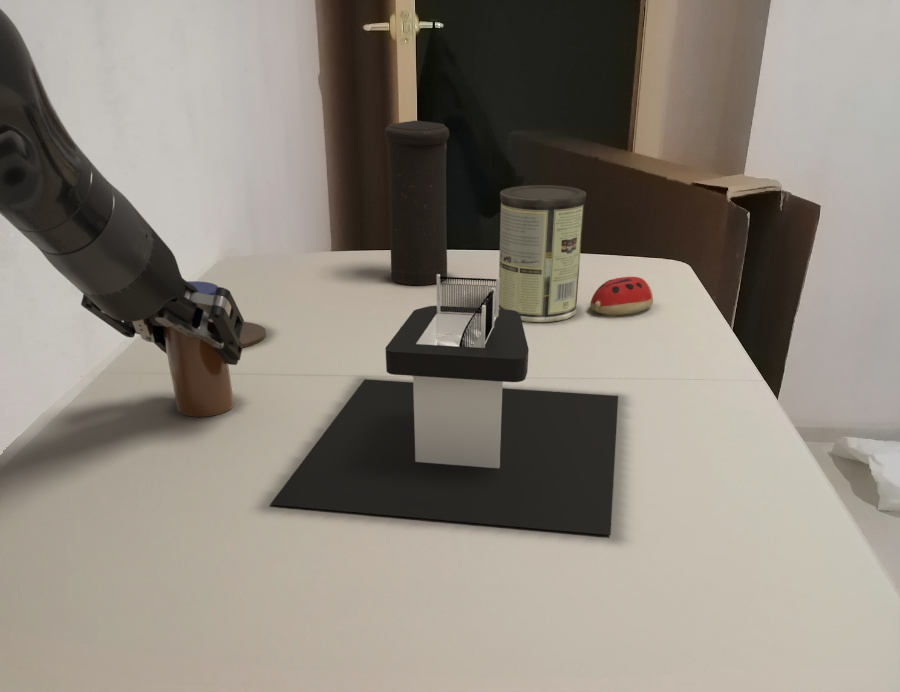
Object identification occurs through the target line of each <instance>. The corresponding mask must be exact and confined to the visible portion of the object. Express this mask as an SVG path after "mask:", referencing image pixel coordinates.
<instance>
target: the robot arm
mask: <svg viewBox="0 0 900 692" xmlns="http://www.w3.org/2000/svg"><path fill="white" fill-rule="evenodd" d="M0 215H1V216H2V217H3V218H5V219H6V220H7V221H8V222H9V223H10V224H11V225H12V226H13V227H14V228H15V229H16V230H17V231H19V232H20V233H21V234H22V235H23V236H24V237H25V238H26V239H27V240H29V241H30V242H31V243H32V244H33V245H34V246H35V247H36V248H37V249H38V250H39V251H40V253H42V255H43V256H44V258H45V259H46V260H47V261H48V262H49V263H50V264H51V266H52V267H54V269H56V270H57V271H58V272H59V273H60V274H61V275H62V276H63V277H64V278H65V279H66V280H68V282H70V283H71V284H72V285H73V286H74V287H75V288H76V289H77V290H79V291H80V292H81V293H82V298H81V301H80V306H81V307H83V308H84V309H86V310H87V311H88V312H90V313H91V314H93V315H94V316H95V317H97V318H98V319H100V320H101V321H102V322H104V323H105V324H107V325H108V326H109V327H111V328H112V329H114V330H116V331H117V332H118V333H119V334H121V335H122V336H124V337H127V338H135V334H137V335H140V337H141V339H142V340H144V341H145V342H147V343H153V344H155V345H156V346H157V347H158V348H159V349H160V350H161V351H162V352H163V353H164V354H166V355H167V351H166V346H165V341H164V336H163V331H162V326H166V327H172V328H174V329H175V330H177V331H179V332H180V333H182V334H184V335H185V336H187V337H188V338H190V339H192V340H196V339H201V340H203V341H205V342H206V343H208V344H209V345H211V346H213V347H212V348H213V349H214V350H215V351H216V352H217V353H218V354H219V355H220V356H221V357H222V358H223V359H224V360H225V361H226V362H227V363H228V365H232V366H236V365H238V363H239V361H240V360H241V357H242V352H243V349H244V347H243V344H242V343H241V342H240V341H239V340H240V335H241V331H242V327H243V323H244V322H245V319H244V317H243V316H242V313H241V311H240V309H239V307H238V305H237V303H236V301H235V299H234V297H233V294H232V292H231V291H230V290H229V289H227V288H225V287H222V286H218V287H217V288H216V291H215V295H209V294H203V293H199V292H198V290H197V288H196V287H195V286H193V285H192V284H190V283H188V281H187V280H185V279H184V278H183V277H182V274H181V271H180V268H179V264H178V262H177V259H176V256H175V254H174V253H173V251H172V250H171V249H170V246H168V244H166V242H165V241H164V240H163V239H162V238H161V237H160V235H159V234H158V233H157V232H156V231H155V229H154V228H153V227H152V226H151V224H149V222H148V221H147V220H146V219H145V218H144V216H143V215H142V214H141V213H140V212H139V211H138V210H137V208H136V207H135V206H134V205H133V204H132V202H131V201H130V200H129V199H128V198H127V197H126V196H125V195H124V193H122V192H121V191H120V190H119V189H118V188H117V187H115V186H114V185H113V184H112V183H111V182H109V181H108V179H107V178H106V177H105V176H104V175H103V174H102V173H101V172H100V170H99V169H98V168H97V167H96V166H95V165H94V164H93V162H92V161H91V160H90V159H89V158H88V157H87V155H86V154H85V153H84V152H83V150H82V149H81V148H80V147H79V145H78V144H77V143H76V142H75V140H74V139H73V137H72V136H71V134H70V133H69V131H68V130H67V128H66V126H65V125H64V123H63V121H62V120H61V118H60V116H59V114H58V113H57V110H56V109H55V107H54V105H53V103H52V101H51V99H50V97H49V94H48V92H47V90H46V88H45V86H44V83H43V80H42V77H41V75H40V73H39V71H38V68H37V66H36V63H35V61H34V59H33V57H32V54H31V51H30V50H29V48H28V46H27V44H26V42H25V40H24V38H23V36H22V34H21V33H20V31H19V29H18V28H17V26H16V25H15V23H14V22H13V21H12V19H11V18H10V17H9V15H7V13H6V12H5V11H4V10H3V9H1V8H0ZM194 313H195V315H194ZM193 316H194V319H193V323H192V326H190V325H189V324H190V323H191V321H192V318H193ZM208 322H211V323H212V324H214V328H213V332H212V333H210V332H209V331H208V330H207V326H208Z"/></svg>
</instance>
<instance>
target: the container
mask: <svg viewBox="0 0 900 692" xmlns="http://www.w3.org/2000/svg"><path fill="white" fill-rule="evenodd" d="M384 136H385V139H386V141H387V143H388V173H389V174H388V176H389V230H390V231H389V232H390V233H389V234H390V276H391V277H390V279H391V280H392V281H394V282H396V283H398V284H401V285H412V286H413V285H415V286H423V285H425V286H426V285H433V284H437V274H440V277H448V243H447V239H448V237H447V236H448V235H447V142H448V139H449V138H450V130H449V128H448V126H446V125H445V124H444V123H440V122H438V123H437V122H433V121H432V122H431V121H424V120H408V121H400V122H395V123H389V124H388V125H387V126H386V127H385V129H384ZM444 281H446V279H442V282H444ZM440 283H441V279H440Z"/></svg>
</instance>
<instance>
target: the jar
mask: <svg viewBox="0 0 900 692" xmlns="http://www.w3.org/2000/svg"><path fill="white" fill-rule="evenodd" d="M192 323H193V319H192V321H191V323H190V324H189V325H190V326H192ZM213 328H214V324H212V323H211V322H208V326H207V330H208V331H209V332H210V333H212V332H213ZM162 331H163V336H164V341H165V346H166V351H167V354H166V356H167V357H166V358H167V361H168V367H169V372H170V376H171V382H172V387H173V392H174V397H175V403H176V408H177V411H178V412H179V413H180V414H181V415H184V416H187V417H197V418H202V417H213V416H218V415H221V414H223V413H226V412H228V411H230V410H231V409H233V408H234V406H235V399H234V392H233V386H232V379H231V374H230V367H229V366H230V365H229V364H228V363H227V362H226V361H225V360H224V359H223V358H222V357H221V356H220V355H219V354H218V353H217V352H216V351H215V350H214V349H213V348H212V347H213V346H211V345H209V344H208V343H206V342H205V341H203V340H201V339H196V340H192V339H190V338H188V337H187V336H185V335H184V334H182V333H180V332H179V331H177V330H175V329H174V328H172V327H166V326H162Z"/></svg>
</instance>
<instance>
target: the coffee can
mask: <svg viewBox="0 0 900 692" xmlns="http://www.w3.org/2000/svg"><path fill="white" fill-rule="evenodd" d="M499 198H500V220H499V221H500V223H499V224H500V226H499V262H498V263H499V265H498V266H499V268H498V278H500V281H499V309H503V310H514V311H517V312H518V313H519V315H520V316H521V320H522V322H527V323H554V322H559V321H565V320H567V319H570V318H572V317H574V316H576V314H577V312H578V311H577V305H578V304H577V303H578V293H579V291H578V290H579V277H580V264H581V263H580V262H581V251H582V250H581V249H582V240H583V226H584V214H585V213H584V212H585V201H586V199H587V192H586V191H585V190H583V189H580V188H577V187H573V186H565V185H552V184H533V185H532V184H531V185H518V186H512V187H507V188H505V189H504V188H503V189H502V190H501V191H500V192H499Z"/></svg>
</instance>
